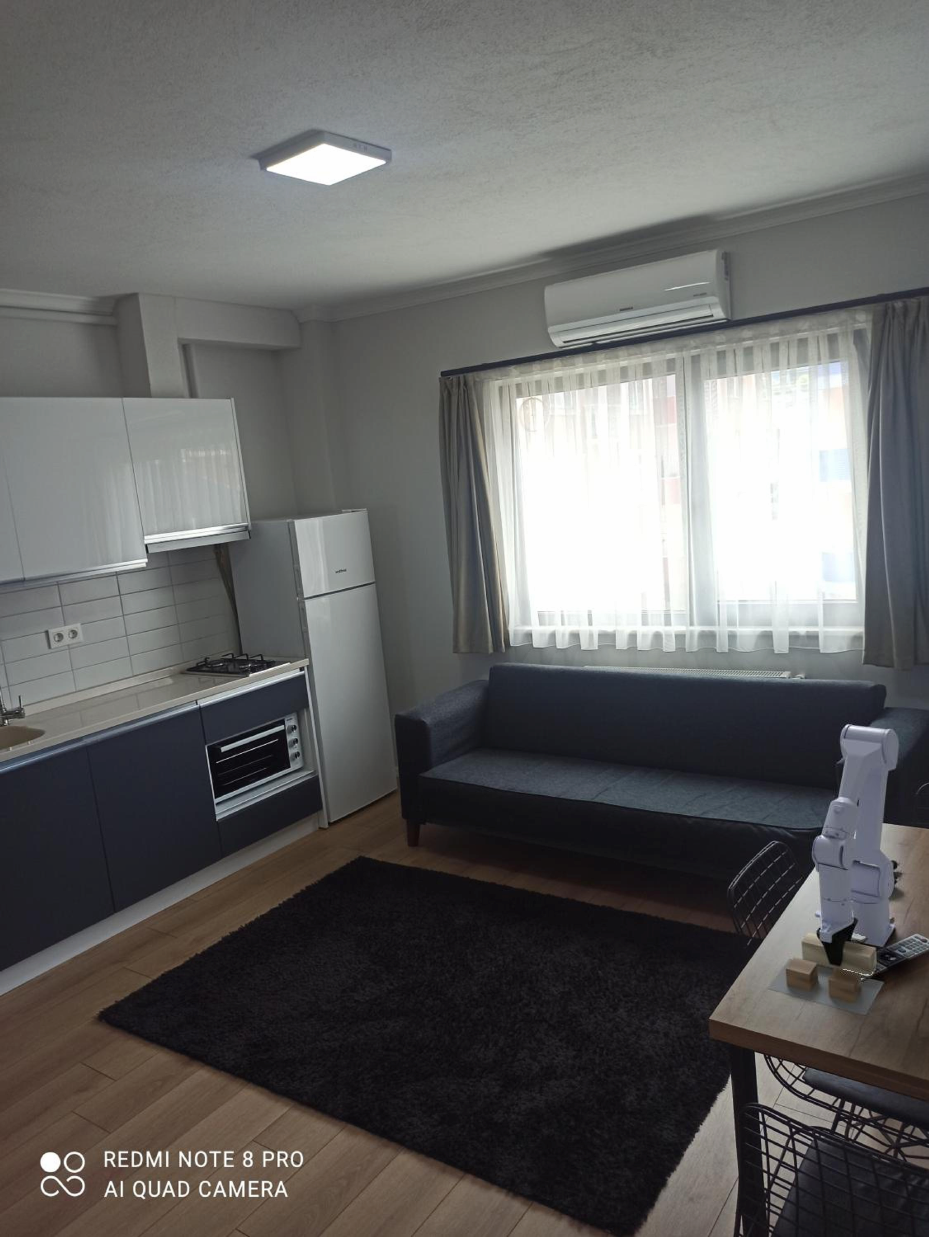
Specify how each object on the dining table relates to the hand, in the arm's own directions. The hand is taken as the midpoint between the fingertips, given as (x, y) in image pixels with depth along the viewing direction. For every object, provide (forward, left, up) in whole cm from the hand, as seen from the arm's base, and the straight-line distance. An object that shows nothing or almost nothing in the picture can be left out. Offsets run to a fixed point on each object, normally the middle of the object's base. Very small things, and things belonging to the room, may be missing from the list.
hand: (839, 958), depth 182 cm
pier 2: (+9, +4, -1) cm, 10 cm away
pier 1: (+9, -4, -1) cm, 10 cm away
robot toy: (-39, -4, -2) cm, 39 cm away
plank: (0, 0, -1) cm, 1 cm away
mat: (+8, 0, -1) cm, 9 cm away
